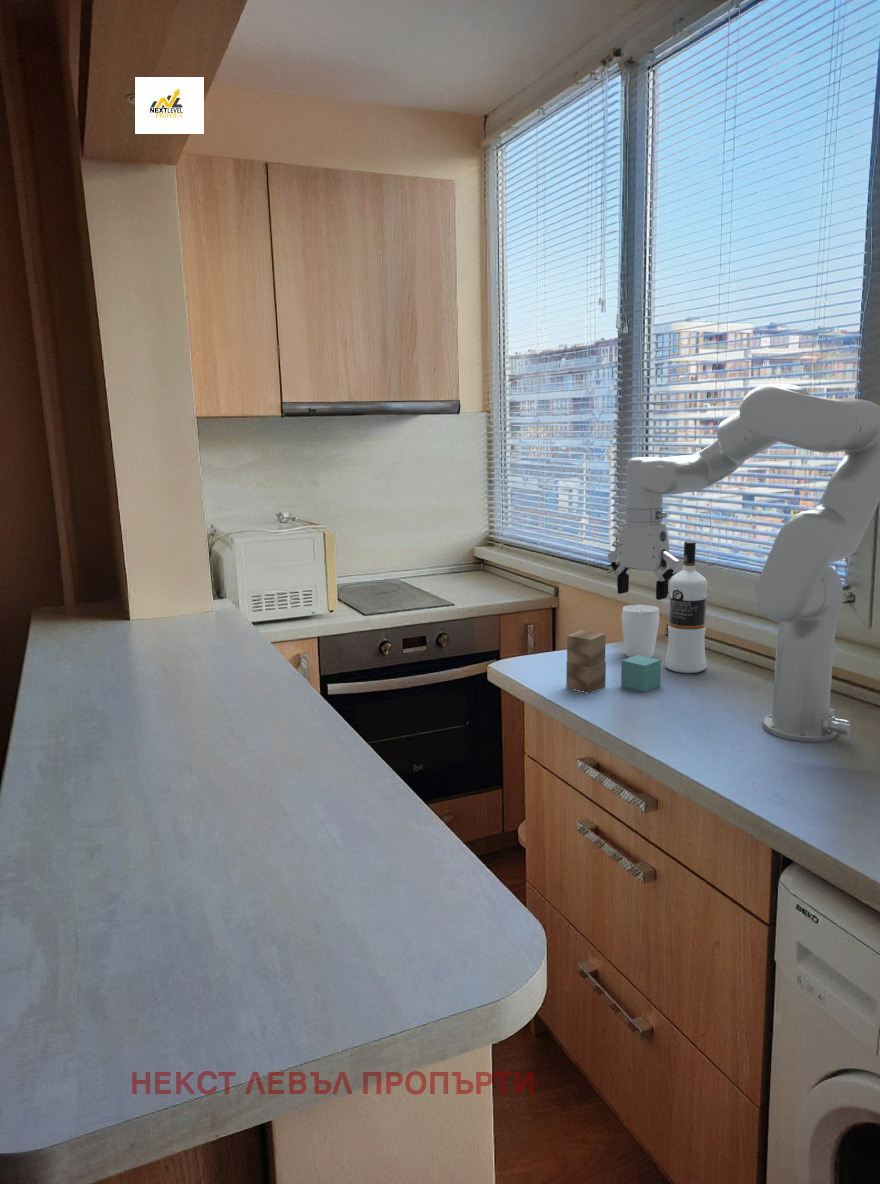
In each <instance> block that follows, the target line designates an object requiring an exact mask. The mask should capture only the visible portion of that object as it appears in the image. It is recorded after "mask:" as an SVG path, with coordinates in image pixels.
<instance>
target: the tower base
mask: <svg viewBox="0 0 880 1184" xmlns="http://www.w3.org/2000/svg"><path fill="white" fill-rule="evenodd" d="M606 664H607V661H606V660H605V661H603V662H601V663H599V664H597V665H595V666H592V667H589V666H584V665H578V664H573V663H568V662H567V661H566V674H565V675H566V683H565V684H566V685H565V688H566V687H568V688H567V689H569V688H571V689H570V690H573V689H576V690H580V691H584V692H587V693H589V694H591V693H590V692H592V691H595V690H597V691H599V690H598V689H600V690H602V689H601V688H603V689H605V688H606V674H607V673H606V672H607V671H606V669H607V668H606V666H607V665H606ZM604 687H605V688H604ZM576 690H575V691H576ZM580 691H579V692H580ZM584 692H583V693H584ZM595 692H596V691H595ZM587 693H586V694H587ZM592 693H593V692H592Z"/></svg>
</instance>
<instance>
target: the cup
mask: <svg viewBox="0 0 880 1184" xmlns="http://www.w3.org/2000/svg"><path fill="white" fill-rule="evenodd" d="M621 612H622V613H621V625H622V635H623V642H624V643H623V644H624V649H625V656H626V657H627V658H630V657H633V656H636V655H641V656H645V657H650V658H653V657H654V654H655V648H656V642H657V637H658V636H657V635H658V631H659V625H660V608H659V607H657V606H654V605H651V604H629V605H625V606H622V611H621Z"/></svg>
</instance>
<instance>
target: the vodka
mask: <svg viewBox="0 0 880 1184" xmlns="http://www.w3.org/2000/svg"><path fill="white" fill-rule="evenodd" d="M696 545H697V542H696V541H692V540H688V541H687V540H686V541H684V543H683V563H682V564H683V566H682V570H680V571H678V572H676V573H675V574H674V575H673V576H672V577H671V579H670V580H669V582H668V588H669V592H668V595H669V616H668V617H669V618H668V625H667V628H668V640H667V641H668V642H667V648H666V654H665V657H664V658H665V659H664V664H665V665H664V666H666V667H665V668H667V669H669V670H670V671H672V672H675V673H680V674H697V673H701V672H702V671H704V670H705V669H706V668H707V657H706V648H705V644H706V643H705V635H706V630H707V628H706V608H707V597H708V594H707V591H708V585H709V584H708V581H707V579H706V577H705V576H703V575H702V574H701V573H699V572H698V571H697V570H696V550H697V549H696V547H697V546H696Z"/></svg>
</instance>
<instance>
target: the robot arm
mask: <svg viewBox="0 0 880 1184" xmlns="http://www.w3.org/2000/svg"><path fill="white" fill-rule="evenodd" d="M716 436H717V439H716V440H715V441H714V442H712V443H710V444H709V445H708V446H706V447H704V448H703V449H701V450H699V451H698V452H695V453H694V454H686V455H677V456H676V455H674V456H663V457H658V456H657V457H656V456H636V457H631V458H629V459H628V461H627V463H626V468H625V469H626V470H625V471H626V472H625V517H624V518H625V521H624V522H622V525H621V530H620V534H619V535H620V537H619V546H618V548H616V549H615V550H613V551H611V552H609V553H607V558H608V560H609V563H610V567H611V568H612V570H614V574H615V576H617V577H616V579H617V580H616V581H617V582H616V585H617V587H616V588H617V594H619V595H621V594H624V593H628V592H629V591H630V586H629V585H630V575H629V573H628V571H629V570H630V569H631V570H639V571H645V572H646V571H647V572H653V573H654V574H655V575H656V577H657V579H658V580H657V581H656V582H655V583H656V584H655V585H656V586H655V587H656V588H655V599H656V600H657V601H661V600H665V599H667V598H668V595H669V581H670V580H671V578H672V577H673V576H674V575H676V574H677V571H678V569H679V567H680V564H681V560H679V559H678V558H676V557H675V556H674V555H672V554H671V553H670V544H669V543H670V542H669V535H668V534H669V533H668V529H667V524H666V522H663V520H664V519H667V517H668V513H667V512H666V511H664V510H663V509H664V508H663V495H666V496H669V495H678V494H685V493H694V492H699V491H701V490H704V489H706V488H708V487H710V486H712V485H713V484H716V483H718V482H719V481H721V480H723V479H725V478H727V477H729V476H730V475H731V474H733V473H735V471H737V470H738V469H739V468H740V467H741V466H742V465H744V462H746V461H747V460H749V459H751V458H753V457H754V456H756V455H758V454H760V453H761V452H763V451H765V450H766V449H769V448H770V447H772V446H774V445H776V444H778V443H782V444H787V445H790V446H792V447H797V448H799V449H804V450H807V451H811V452H817V453H823V454H824V453H826V454H827V453H839V452H844V456H843V459H842V460H841V462H840V463H839V465H838V466H837V467H836V468H835V470H834V471H833V473H832V475H831V476H830V478H829V480H828V482H827V485H826V488H825V491H823V494H822V495H821V497H820V500H819V502H818V504H817V505H816V506H815V508H811V509H809V510H804V511H801V512H798V513H796V514H794V515H793V516H791V517H790V518H789V519H788V520H787V521H786V522H785V523H784V524H783V525H782V527H781V528H780V530H779V532H778V533H777V536H776V538H775V540H774V542H773V545H772V547H771V549H770V552H769V553H768V556H767V558H766V561H765V563H764V565H763V568H762V570H761V573H760V575H759V578H758V580H757V583H756V587H755V602H756V603H755V604H756V605H757V608H758V610H759V612H760V613H761V614H762V615H763V617H765V618H767V619H768V620H770V621H772V622H776V623H778V629H777V635H776V647H775V660H774V661H775V664H774V679H773V680H774V682H773V698H772V699H773V700H772V713H770V714H769V715H766V716H765V717H764V718H763V721H762V726H763V727H762V728H763V729H764V730H765V731H766V732H768V733H769V734H771V735H773V736H776V737H779V738H782V739H785V740H788V741H790V740H791V741H796V742H805V743H806V742H807V743H819V742H826V741H830V740H832V739H834V738H836V736H837V734H841V735H846V736H849V735H850V734H851V732H852V725H851V724H850V720H847V719H842V718H841V719H840V718H837V716H836V715H835V714H836V713H835V708H831V707H830V704H831V691H832V690H831V689H832V679H833V677H832V675H833V665H834V664H833V661H834V652H835V651H834V650H835V640H836V638H835V637H836V631H837V623H838V617H839V614H840V611H841V606H842V601H843V596H844V595H843V594H844V588H843V587H844V586H843V581H842V578H841V575H840V574H839V573H838V571H837V570H836V569H835V567H832V566H831V565H830V564H832V563H836V562H840V561H842V560H844V559H847V558H848V557H851V556H852V555H853V554H855V552H856V551H857V549H858V548H859V546H860V545H861V542H862V539H863V538H864V535H865V533H866V531H867V529H868V527H869V525H870V523H871V521H872V519H873V516H874V514H875V512H876V510H877V508H878V506H879V503H880V405H879V404H877V403H876V402H874V401H870V400H866V399H858V398H855V399H854V398H847V399H844V398H843V399H836V398H835V399H832V398H825V397H820V396H815V395H811V394H810V393H809V392H808V391H807V390H806V389H804V388H803V387H801V386H798V385H795V384H779V383H778V384H777V383H776V384H772V383H769V384H762V385H759V386H757V387H754V389H751V390H750V391H749V392H748V393H747V394H746V395H745V396H744V398H743V399H742V401H741V403H740V406H739V411H737V412H736V413H734V414H732V415H731V416H729V417H727V418H726V419H724V420H722V421H721V422H720V424H719V425H718V427H717V429H716Z"/></svg>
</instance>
